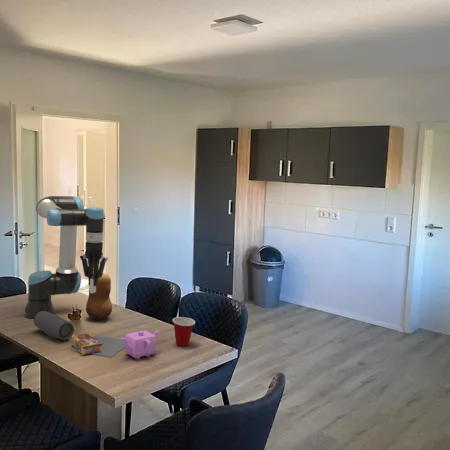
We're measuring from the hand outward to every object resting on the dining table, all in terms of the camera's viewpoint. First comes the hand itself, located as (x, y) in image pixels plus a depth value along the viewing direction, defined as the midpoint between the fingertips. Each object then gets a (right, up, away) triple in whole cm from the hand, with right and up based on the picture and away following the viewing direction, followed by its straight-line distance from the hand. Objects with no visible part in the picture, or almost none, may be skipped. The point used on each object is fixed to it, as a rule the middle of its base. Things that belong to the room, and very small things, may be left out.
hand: (92, 292), depth 227 cm
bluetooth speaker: (-22, -22, +11) cm, 33 cm away
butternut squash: (-7, -20, +39) cm, 44 cm away
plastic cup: (+40, -26, +8) cm, 49 cm away
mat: (+5, -25, +1) cm, 25 cm away
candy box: (-6, -22, +2) cm, 23 cm away
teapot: (+23, -27, -8) cm, 36 cm away
